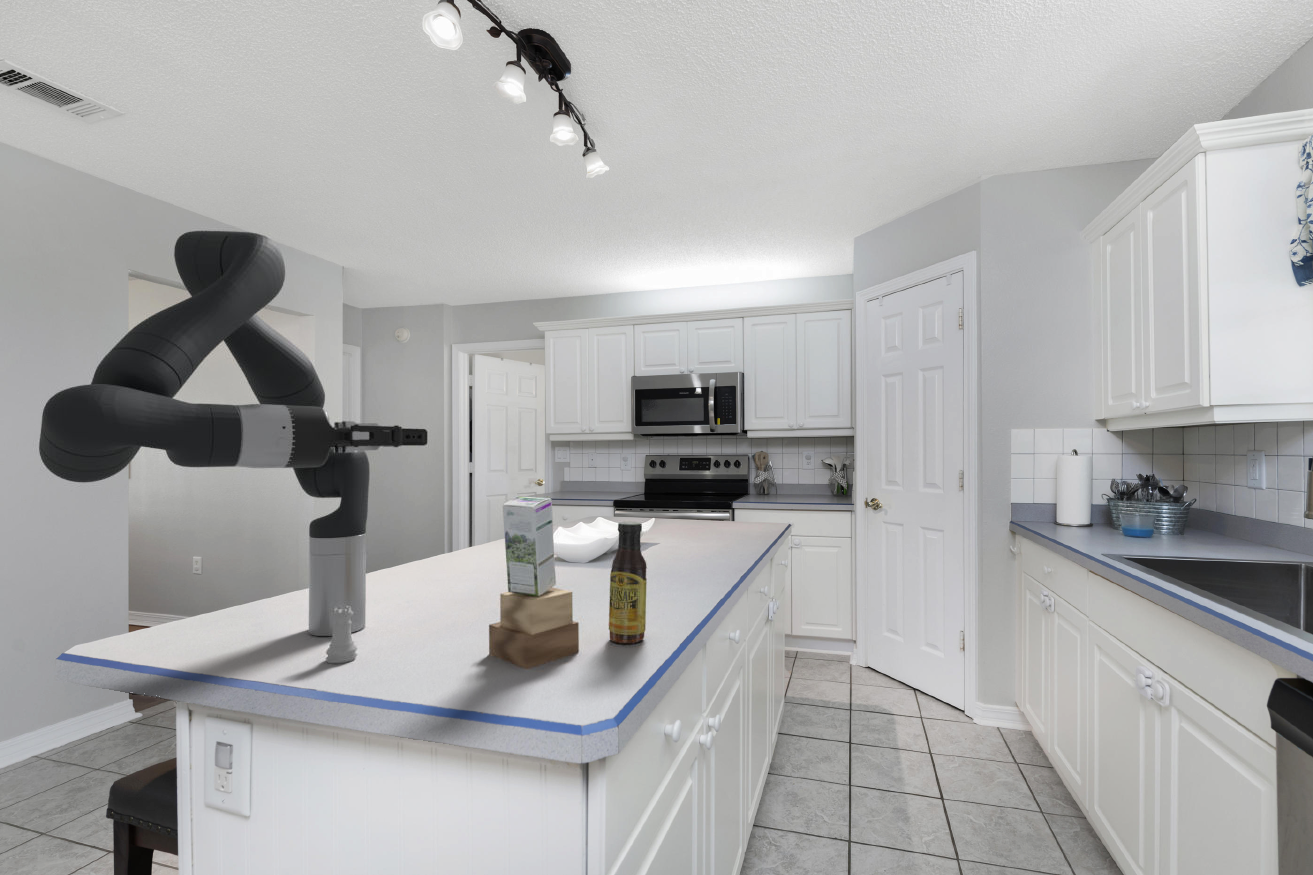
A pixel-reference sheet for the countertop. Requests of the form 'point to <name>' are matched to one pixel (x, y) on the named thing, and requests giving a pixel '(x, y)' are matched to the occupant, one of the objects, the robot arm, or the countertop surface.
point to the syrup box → (529, 545)
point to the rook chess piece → (341, 637)
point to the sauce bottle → (628, 587)
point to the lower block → (533, 644)
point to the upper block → (536, 611)
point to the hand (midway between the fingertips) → (411, 438)
